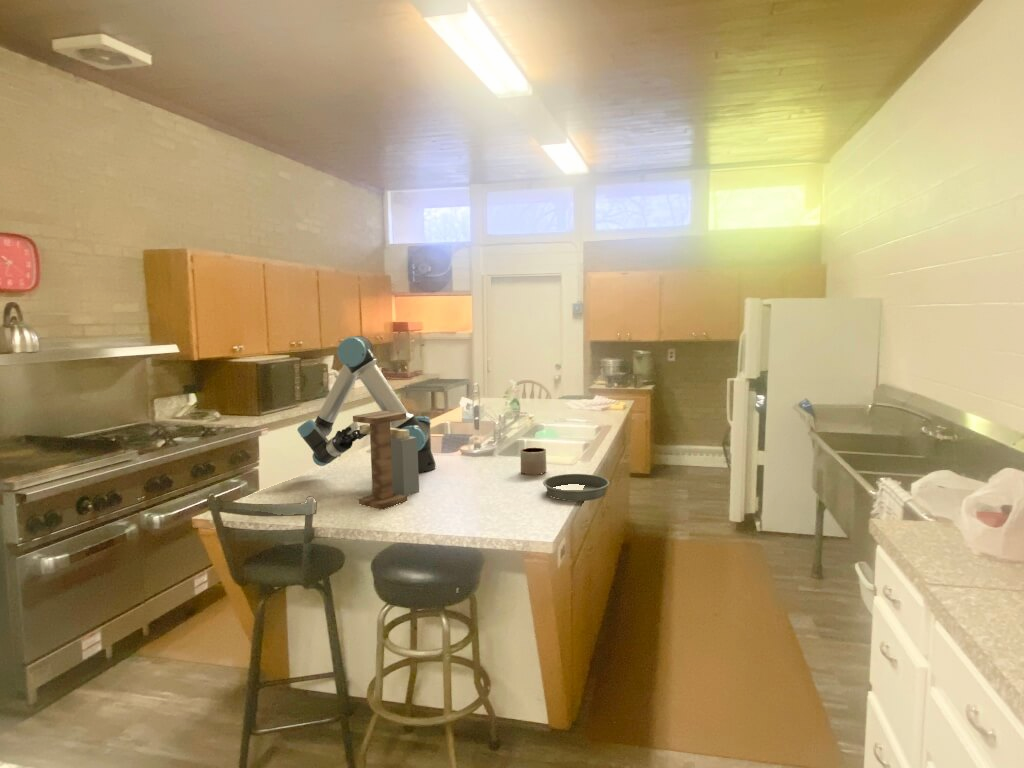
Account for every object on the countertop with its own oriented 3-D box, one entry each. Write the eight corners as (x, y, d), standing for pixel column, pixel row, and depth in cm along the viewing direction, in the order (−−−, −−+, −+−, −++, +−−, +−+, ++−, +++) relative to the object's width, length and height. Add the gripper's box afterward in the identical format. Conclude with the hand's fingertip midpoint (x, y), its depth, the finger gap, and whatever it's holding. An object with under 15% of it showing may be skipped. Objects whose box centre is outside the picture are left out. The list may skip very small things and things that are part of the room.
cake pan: (532, 489, 252) (532, 477, 251) (589, 482, 261) (589, 471, 260) (561, 506, 229) (561, 493, 229) (622, 497, 238) (622, 485, 238)
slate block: (372, 490, 254) (370, 436, 252) (387, 485, 261) (385, 433, 258) (404, 496, 244) (402, 440, 242) (419, 491, 251) (417, 437, 248)
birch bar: (359, 433, 259) (359, 425, 259) (365, 432, 261) (365, 424, 261) (403, 439, 245) (403, 431, 245) (409, 437, 247) (409, 429, 247)
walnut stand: (356, 505, 234) (352, 416, 231) (385, 495, 246) (382, 410, 242) (380, 510, 227) (376, 418, 224) (409, 500, 239) (405, 413, 235)
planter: (516, 474, 275) (516, 451, 274) (526, 468, 285) (525, 446, 284) (541, 476, 271) (541, 453, 270) (550, 470, 281) (549, 448, 280)
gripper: (366, 447, 278) (396, 425, 266) (318, 458, 258) (348, 435, 246) (359, 431, 279) (389, 409, 268) (311, 440, 259) (341, 417, 247)
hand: (370, 421), depth 257 cm, fingers open, 13 cm apart
